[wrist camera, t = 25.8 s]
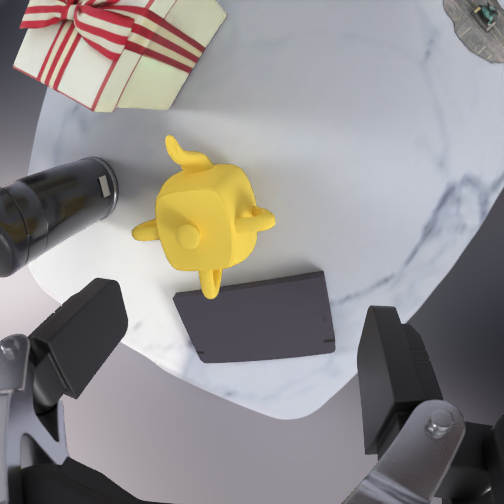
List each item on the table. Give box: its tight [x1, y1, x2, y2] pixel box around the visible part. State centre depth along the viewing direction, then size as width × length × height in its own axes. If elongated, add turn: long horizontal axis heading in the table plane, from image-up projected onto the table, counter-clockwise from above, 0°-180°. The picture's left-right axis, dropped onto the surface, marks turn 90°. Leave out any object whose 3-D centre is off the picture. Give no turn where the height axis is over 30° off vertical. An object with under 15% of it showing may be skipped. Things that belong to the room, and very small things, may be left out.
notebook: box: [173, 271, 335, 363], centre depth 43 cm, size 13×2×21 cm
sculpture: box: [444, 0, 504, 63], centre depth 20 cm, size 12×9×8 cm
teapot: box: [132, 135, 275, 299], centre depth 33 cm, size 14×13×10 cm
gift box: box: [13, 0, 227, 112], centre depth 22 cm, size 17×18×17 cm
